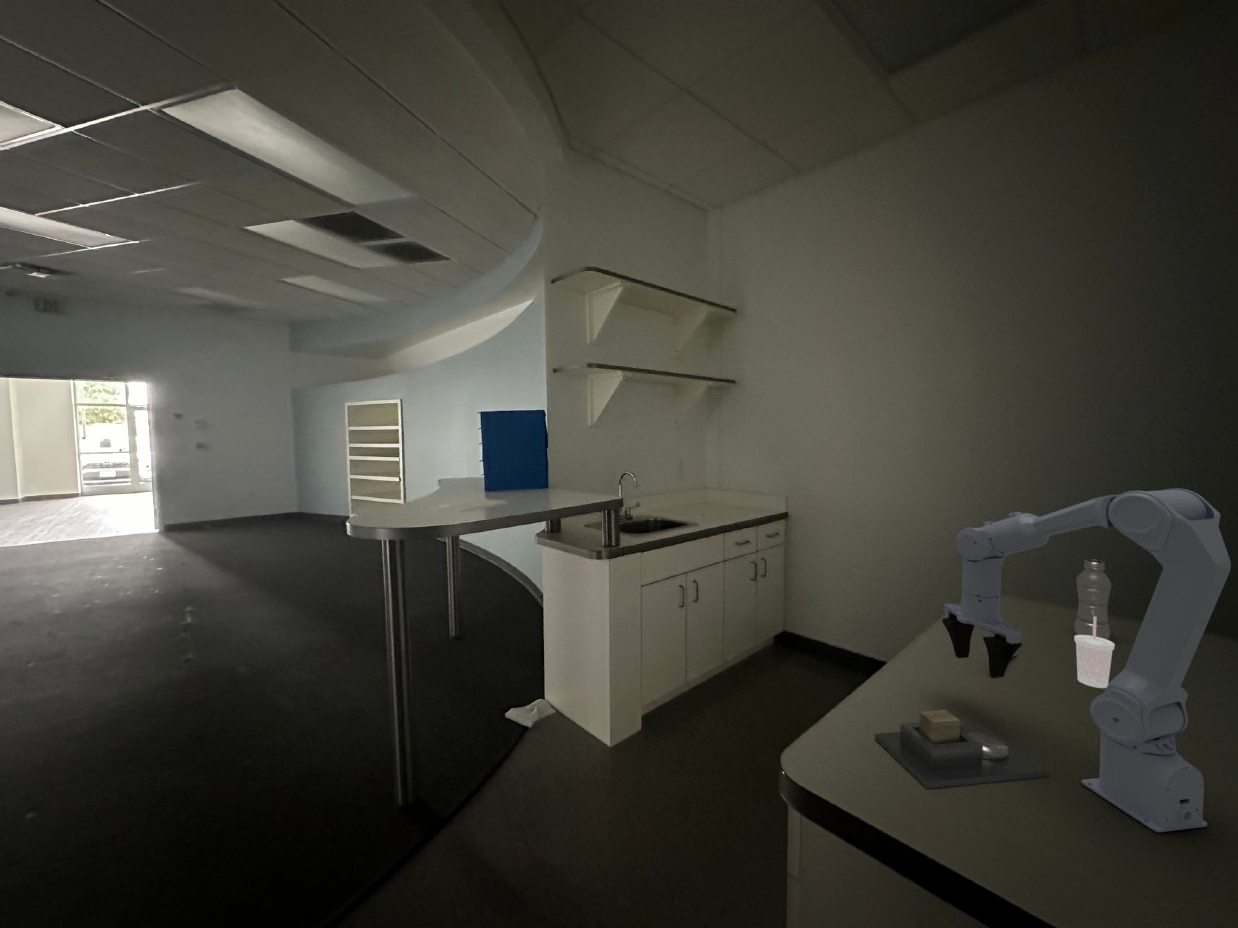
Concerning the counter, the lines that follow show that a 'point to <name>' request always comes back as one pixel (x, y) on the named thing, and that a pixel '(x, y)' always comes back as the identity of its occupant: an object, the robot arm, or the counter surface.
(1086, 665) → the beverage cup
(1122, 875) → the counter surface
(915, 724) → the black tray
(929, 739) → the cardboard box
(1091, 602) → the plastic bottle
